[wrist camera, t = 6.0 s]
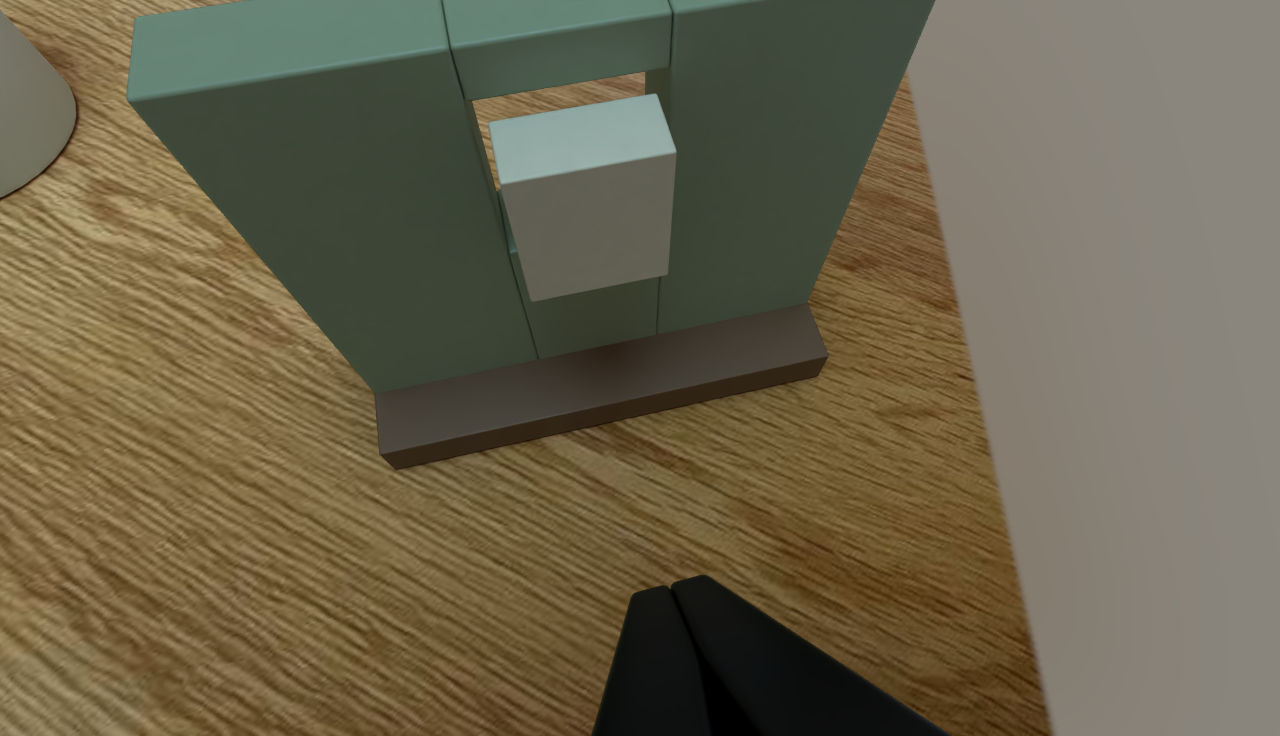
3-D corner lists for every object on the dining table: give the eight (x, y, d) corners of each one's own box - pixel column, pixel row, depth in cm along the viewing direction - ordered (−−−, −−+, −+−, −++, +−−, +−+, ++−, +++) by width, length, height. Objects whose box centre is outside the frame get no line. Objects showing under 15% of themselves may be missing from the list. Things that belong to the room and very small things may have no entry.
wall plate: (818, 376, 23) (1003, 42, 11) (395, 470, 22) (111, 198, 10) (747, 191, 27) (833, -212, 15) (376, 262, 25) (147, -123, 13)
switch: (668, 275, 16) (677, 151, 12) (531, 303, 16) (499, 183, 12) (652, 223, 17) (657, 91, 13) (520, 249, 16) (487, 121, 13)
